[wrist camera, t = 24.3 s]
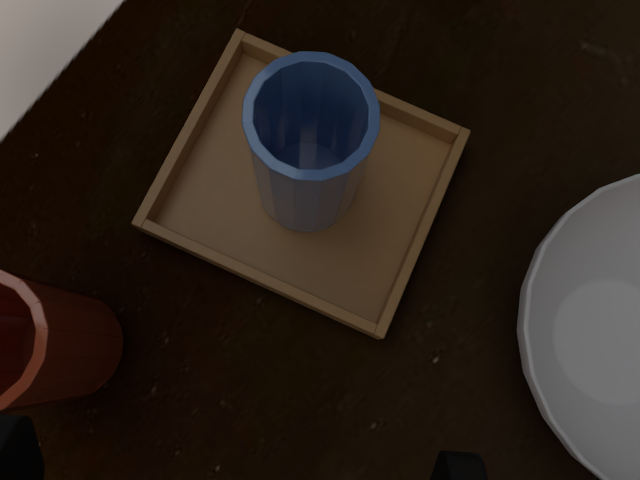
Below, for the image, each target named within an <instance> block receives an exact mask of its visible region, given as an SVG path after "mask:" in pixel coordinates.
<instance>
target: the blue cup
mask: <svg viewBox="0 0 640 480" xmlns="http://www.w3.org/2000/svg"><path fill="white" fill-rule="evenodd" d="M241 123H242V129H243V133H244V137H245V142H246V146H247V150H248V155H249V159H250V163H251V168H252V172H253V176H254V181H255V185H256V189H257V192H258V195H259V198H260V201H261V204H262V206H263V208H264V209H265V211H266V212H267V214H268V215H269V216H270V217H271V218H272V219H273V220H274V221H275V222H277V223H278V224H280V225H281V226H283V227H285V228H287V229H290V230H293V231H297V232H316V231H320V230H324V229H326V228H328V227H331V226H332V225H334V224H335V223H337V222H338V221H339V220H340V219H341V218H342V217H343V216H344V215H345V214H346V213H347V211H348V210H349V208H350V206H351V204H352V202H353V199H354V197H355V195H356V193H357V190H358V187H359V185H360V182H361V179H362V177H363V174H364V171H365V169H366V166H367V163H368V161H369V158H370V155H371V153H372V150H373V147H374V145H375V142H376V139H377V137H378V134H379V130H380V104H379V102H378V99H377V97H376V94H375V92H374V90H373V87H372V85H371V83H370V82H369V80H368V79H367V78H366V77H365V76H364V75H363V74H362V73H361V72H360V71H359V70H358V69H357V68H356V67H355V66H354V65H353V64H351V63H350V62H348V61H345V60H343V59H341V58H339V57H336V56H334V55H332V54H329V53H326V52H308V51H301V52H300V51H299V52H296V53H293V54H289V55H286V56H283V57H280V58H277V59H276V60H274V61H272V62H271V63H270V64H269V65H267V66H266V67H265V68H264V69H263V70H261V71H260V72H259V73H258V74H257V75H256V76H255V77H254V79H253V80H252V82H251V84H250V86H249V88H248V90H247V92H246V94H245V96H244V99H243V106H242V122H241Z"/></svg>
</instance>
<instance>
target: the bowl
mask: <svg viewBox="0 0 640 480" xmlns="http://www.w3.org/2000/svg"><path fill="white" fill-rule="evenodd" d="M517 337H518V344H519V350H520V357H521V363H522V370H523V373H524V376H525V378H526V380H527V383H528V385H529V387H530V390H531V392H532V394H533V397H534V399H535V401H536V404H537V406H538V408H539V411H540V413H541V415H542V417H543V418H544V420H545V421H546V423H547V424H548V425H549V427H550V428H551V429H552V431H553V432H554V433H555V435H556V436H557V437H558V439H559V440H560V441H561V443H562V444H563V445H564V447H565V448H566V449H567V451H568V452H569V454H570V455H571V456H572V457H574V458H575V459H576V460H577V461H578V462H580V463H581V464H582V465H583V466H584V467H586V468H587V469H588V470H589V471H590V472H592V473H593V474H594V475H595V476H596V477H598V478H599V479H600V480H640V174H636V175H634V176H631V177H628V178H625V179H623V180H620V181H617V182H615V183H612V184H609V185H606V186H604V187H601V188H599V189H597V190H596V191H595V192H593V193H592V194H590V195H589V196H588V197H586V198H585V199H584V200H582V201H581V202H580V203H578V204H577V205H575V206H574V207H573V208H571V209H570V210H569V211H567V212H566V213H565V214H564V215H563V216H561V217H560V218H559V220H558V221H557V222H556V223H555V225H554V226H553V227H552V229H551V230H550V231H549V233H548V234H547V235H546V236H545V238H544V239H543V240H542V242H541V243H540V244H539V246H538V247H537V248H536V250H535V253H534V255H533V258H532V260H531V263H530V266H529V268H528V271H527V274H526V276H525V279H524V281H523V284H522V287H521V291H520V301H519V311H518V321H517Z"/></svg>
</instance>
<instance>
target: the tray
mask: <svg viewBox="0 0 640 480" xmlns="http://www.w3.org/2000/svg"><path fill="white" fill-rule="evenodd" d="M289 54H293V53H292V52H289V51H287V50H285V49H282V48H280V47H278V46H275V45H273V44H271V43H269V42H266V41H264V40H262V39H259V38H257V37H255V36H253V35H250V34H248V33H245V32H244V31H241V30H239V29H236V30H235V32H234V34H233V36H232V38H231V40H230V41H229V43H228V45H227V47H226V49H225V51H224V52H223V54H222V56H221V58H220V60H219V62H218V64H217V65H216V67H215V69H214V71H213V73H212V75H211V76H210V78H209V80H208V82H207V84H206V86H205V88H204V89H203V91H202V93H201V95H200V97H199V99H198V101H197V102H196V104H195V106H194V108H193V110H192V112H191V113H190V115H189V117H188V119H187V121H186V123H185V125H184V126H183V128H182V130H181V132H180V134H179V136H178V138H177V139H176V141H175V143H174V145H173V147H172V149H171V150H170V152H169V154H168V156H167V158H166V160H165V162H164V163H163V165H162V167H161V169H160V171H159V173H158V175H157V176H156V178H155V180H154V182H153V184H152V186H151V187H150V189H149V191H148V193H147V195H146V197H145V199H144V200H143V202H142V204H141V206H140V208H139V210H138V211H137V213H136V215H135V217H134V219H133V221H132V223H131V224H132V225H134V226H135V227H136V228H137V229H139V230H140V231H141V232H143V233H145V234H148V235H150V236H152V237H154V238H156V239H159V240H161V241H163V242H165V243H167V244H170V245H172V246H174V247H176V248H178V249H181V250H183V251H185V252H187V253H189V254H191V255H194V256H196V257H198V258H200V259H202V260H205V261H207V262H209V263H211V264H213V265H216V266H218V267H220V268H222V269H224V270H227V271H229V272H231V273H233V274H235V275H237V276H240V277H242V278H244V279H246V280H248V281H251V282H253V283H255V284H257V285H259V286H262V287H264V288H266V289H268V290H270V291H272V292H275V293H277V294H279V295H281V296H283V297H286V298H288V299H290V300H292V301H294V302H297V303H299V304H301V305H303V306H305V307H308V308H310V309H312V310H314V311H316V312H318V313H321V314H323V315H325V316H327V317H329V318H332V319H334V320H336V321H338V322H340V323H343V324H345V325H347V326H349V327H351V328H354V329H356V330H358V331H360V332H362V333H364V334H367V335H369V336H371V337H373V338H375V339H378V340H379V339H384V337H385V335H386V333H387V330H388V328H389V325H390V323H391V321H392V318H393V316H394V314H395V311H396V309H397V306H398V304H399V302H400V299H401V297H402V294H403V292H404V290H405V287H406V285H407V282H408V280H409V278H410V275H411V273H412V271H413V268H414V266H415V263H416V261H417V259H418V256H419V254H420V251H421V249H422V247H423V244H424V242H425V240H426V237H427V235H428V232H429V230H430V228H431V225H432V223H433V220H434V218H435V216H436V213H437V211H438V209H439V206H440V204H441V201H442V199H443V197H444V194H445V192H446V189H447V187H448V185H449V182H450V180H451V178H452V175H453V173H454V170H455V168H456V166H457V163H458V161H459V158H460V156H461V154H462V151H463V149H464V146H465V144H466V142H467V139H468V137H469V135H470V132H471V131H470V130H468V129H466V128H464V127H461V126H459V125H457V124H455V123H452V122H450V121H448V120H445V119H443V118H441V117H438V116H436V115H434V114H432V113H429V112H427V111H425V110H422V109H420V108H418V107H416V106H413V105H411V104H409V103H406V102H404V101H402V100H399V99H397V98H395V97H393V96H390V95H388V94H386V93H383V92H381V91H379V90H376V89H374V88H373V90H374V92H375V94H376V97H377V99H378V102H379V104H380V130H379V134H378V137H377V139H376V142H375V145H374V147H373V150H372V153H371V155H370V158H369V161H368V163H367V166H366V169H365V171H364V174H363V177H362V179H361V182H360V185H359V187H358V190H357V193H356V195H355V197H354V199H353V202H352V204H351V206H350V208H349V210H348V211H347V213H346V214H345V215H344V216H343V217H342V218H341V219H340V220H339V221H338V222H337V223H335V224H334V225H332V226H331V227H328V228H326V229H324V230H320V231H316V232H297V231H293V230H290V229H287V228H285V227H283V226H281V225H280V224H278V223H277V222H275V221H274V220H273V219H272V218H271V217H270V216H269V215H268V214H267V212H266V211H265V209H264V208H263V206H262V204H261V201H260V198H259V195H258V192H257V189H256V185H255V181H254V176H253V172H252V168H251V163H250V159H249V155H248V150H247V146H246V142H245V137H244V133H243V129H242V123H241V122H242V106H243V99H244V96H245V94H246V92H247V90H248V88H249V86H250V84H251V82H252V80H253V79H254V77H255V76H256V75H257V74H258V73H259V72H260V71H261V70H263V69H264V68H265V67H266V66H267V65H269V64H270V63H271V62H272V61H274V60H276V59H277V58H280V57H283V56H286V55H289Z"/></svg>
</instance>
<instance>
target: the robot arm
mask: <svg viewBox="0 0 640 480" xmlns="http://www.w3.org/2000/svg"><path fill="white" fill-rule="evenodd" d="M43 477H44V461H43V457H42V454H41V450H40V447H39V443H38V440H37V436H36V433H35V429H34V426H33V422H32V420H31V418H30V417H29V416H21V415H9V414H0V480H43ZM430 480H488V478H487V474H486V470H485V466H484V462H483V459H482V457H481V456H480V454H478V453H467V452H455V451H440V452H439V454H438V457H437V460H436V463H435V466H434V469H433V472H432V475H431V478H430Z"/></svg>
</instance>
